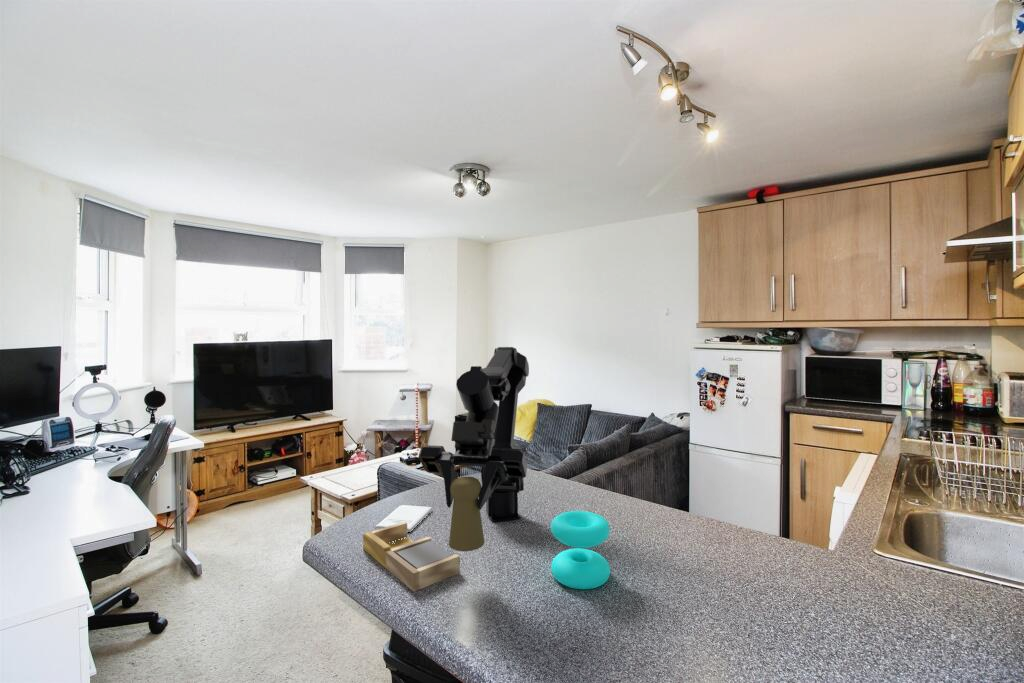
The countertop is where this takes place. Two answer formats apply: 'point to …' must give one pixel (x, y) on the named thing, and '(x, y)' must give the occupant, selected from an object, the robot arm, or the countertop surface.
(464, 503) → the olive brown pawn
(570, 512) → the donuts
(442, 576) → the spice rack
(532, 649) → the countertop surface
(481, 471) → the robot arm
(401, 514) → the external hard drive
